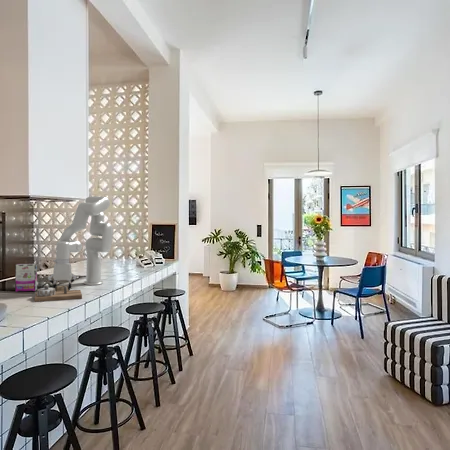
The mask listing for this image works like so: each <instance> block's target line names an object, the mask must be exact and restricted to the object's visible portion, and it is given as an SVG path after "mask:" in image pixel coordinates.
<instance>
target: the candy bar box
mask: <svg viewBox="0 0 450 450" xmlns="http://www.w3.org/2000/svg"><path fill="white" fill-rule="evenodd" d="M14 270H15V278H14V279H15V288H14V289H15V293H19V292H21V293H22V292H37V289H38V263H16V264H15V269H14Z"/></svg>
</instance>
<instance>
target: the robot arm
mask: <svg viewBox="0 0 450 450" xmlns="http://www.w3.org/2000/svg"><path fill="white" fill-rule="evenodd" d="M110 204H111V201H110V199H109V198H108V197H106V196H87V197H86V198H85V202H80V203H79V204H77V207H76V210H75V213H74V216H73V219H72V223H71V224H69V226H67V227H66V229H65V230H64V231H63V232H62V234H61V235H60V239H59V241H57V242H56V244H55V245H56V247H55V248H56V251H55V255H56V256H55V259H53V263H55V264H54V265H53V273H52V274H50V275H49V276H48V277H47V280H48V281H49V282H50V283H51V284H52V286H53V287H52V288H55V291H56V287H57V282H59V281H60V282H61V281H67V282H68V286H69V290H71V289H72V283H74V282H75V280H76V279H77V275H75V274H74V273H72V264H71V263H70V256H71V253H73V254H74V253H79V252H81V250H82V249H83V244H82V243H81V241H79V240H71V238H72V236H73V235H74V234H76V233H77V232H79V231H82V230H84V229H85V228H86V226H87V223H88V220H89V218H90V217H91V218H90V225H89V234H90V235H91V236H93V237H89V238H87V239H86V241H85V244H84V246H85V247H84V248H85V251H86V268H85V269H86V270H85V272H86V274H85V275H86V278H85V279H86V280H85V281H83V284H84V285H87V286H97V285H98V286H99V285H102V284H103V283H104V281H103V280H102V278H101V277H102V255H101V253H108V252H110V251H111V249H112V248H111V247H112V242H113V237H114V236H113V235H114V227H113V225H112V224H111V223H109V222H105V213H104V211H106V210H107V209H109V207H110ZM72 277H73V278H72ZM52 278H53V279H52Z"/></svg>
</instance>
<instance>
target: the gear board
mask: <svg viewBox="0 0 450 450" xmlns="http://www.w3.org/2000/svg"><path fill="white" fill-rule="evenodd" d="M63 286H64V291H55V288H53V287H49V285H48V284H46V285H44V287H41V288H37V290H36V291H35V296H34V302H35V303H37V302H54V301H55V302H56V301H69V300H82V299H83V294H82V291H81V289H73V290H71V289H70V290H68V291H67V286H68V285H63Z"/></svg>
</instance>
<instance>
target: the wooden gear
mask: <svg viewBox="0 0 450 450" xmlns="http://www.w3.org/2000/svg"><path fill="white" fill-rule="evenodd" d="M64 286H65V285H58V286H57V285H56V291H64ZM66 286H67V291H68V290H69V285H66Z"/></svg>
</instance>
